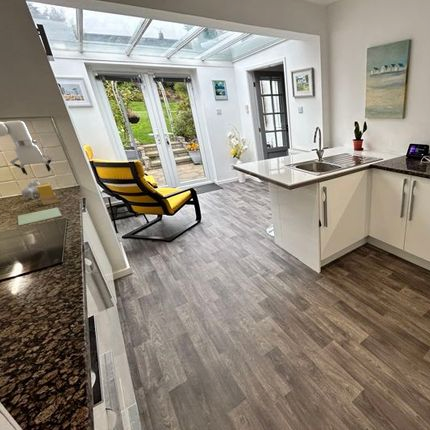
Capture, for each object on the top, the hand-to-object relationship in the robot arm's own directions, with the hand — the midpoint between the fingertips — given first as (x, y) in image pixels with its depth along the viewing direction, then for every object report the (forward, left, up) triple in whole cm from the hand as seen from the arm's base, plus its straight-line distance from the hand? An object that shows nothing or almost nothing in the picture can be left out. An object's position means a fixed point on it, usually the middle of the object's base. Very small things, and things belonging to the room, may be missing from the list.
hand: (38, 172), depth 157 cm
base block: (0, 0, -19) cm, 19 cm away
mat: (+16, -24, -19) cm, 35 cm away
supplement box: (-10, +10, -19) cm, 23 cm away
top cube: (0, 0, -14) cm, 14 cm away
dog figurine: (-22, +12, -19) cm, 31 cm away
